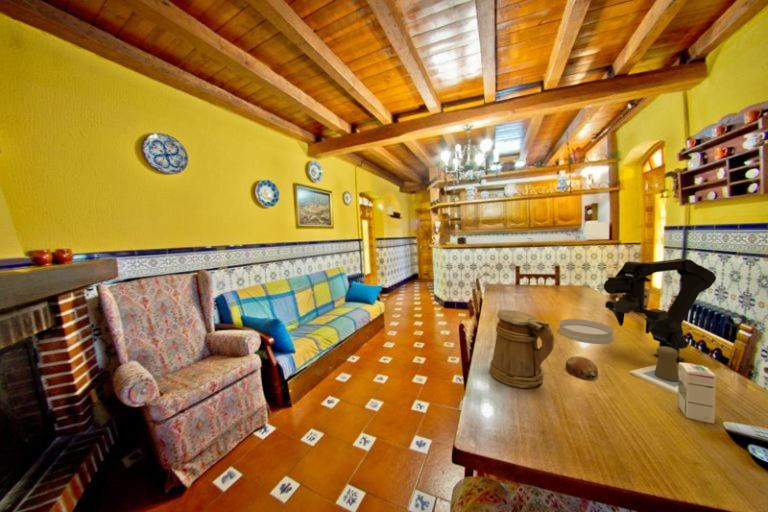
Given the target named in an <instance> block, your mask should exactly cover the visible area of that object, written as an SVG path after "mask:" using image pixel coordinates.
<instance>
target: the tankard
mask: <svg viewBox="0 0 768 512" xmlns="http://www.w3.org/2000/svg"><path fill="white" fill-rule="evenodd" d="M497 317H498V322H497V323H496V327H495V332H496V337H495V343H494V349H493V354H492V355H493V356H492V359H491V361H490V364H489V372H490V374H491V376H492V377H493V378H494V379H496V380H497V381H499V382H500V383H503V384H506V385H508V386H511V387H515V388H522V389H531V388H535V387H536V386H539V385H541V384H542V383H543V381H544V369H543V367H542V366H541V365H542V363H543V362H544V361H545V360H547V358H548V357H549V356H550V355H551V353H552V352H553V349H554V347H555V338H554V333H553V331H552V328H551V327H550V324H549V322H547V321H543V320H540V319H537V318H536V317H535V316H534V315H531V314H529V313H527V312H524V311H520V310H511V309H510V310H509V309H507V310H505V309H500V310H499V311H498V313H497ZM539 339H540V340H541V346H540V347H539V346H538V340H539Z"/></svg>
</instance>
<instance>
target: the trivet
mask: <svg viewBox="0 0 768 512" xmlns="http://www.w3.org/2000/svg"><path fill="white" fill-rule="evenodd" d="M656 365H657V364H653V365H650V366H645V367H641V368H637V369H633V370H630V371H628V372H629V375H631V376H633V377H635V378H638V379H640V380H642V381H645V382H646V383H647V382H648V383H650V384H652V385H654V386H656V387H658V388H660V389H662V390H666V391H667V392H669V393H672V394H674V395H677V396H678V382H670V381H665V380H662V379H660V378H658V377H656V376H655V375H654V373H655V369H656ZM678 376H679V372H678Z"/></svg>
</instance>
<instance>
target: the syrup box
mask: <svg viewBox="0 0 768 512" xmlns="http://www.w3.org/2000/svg"><path fill="white" fill-rule="evenodd" d="M678 373H679V380H678V395H677V407H678V409H679V410H680V411H681V413H682V414H683V415H684V417H685V418H687V419H692V420H694V421H699V422H703V423H709V424H712V425H713V424H715V415H716V389H717V387H716V386H717V385H716V384H717V382H716V380H717V376H716V373H713V372H712V370H710V368H708V367H707V366H706V365H702V364H695V363H689V362H681V361H678Z"/></svg>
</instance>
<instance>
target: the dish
mask: <svg viewBox="0 0 768 512" xmlns="http://www.w3.org/2000/svg"><path fill="white" fill-rule="evenodd" d="M558 327H559V328H558V332H559V334H560V335H561V336H563V337H564V338H567V339H569V340H573V341H576V342H580V343H585V344H594V345H604V344H609V343H613V340H614V335H613V333H614V332H613V328H611V327H610V326H608V325H607V324H604V323H602V322H597V321H593V320H589V319H581V318H568V319H562V320H560V321H559V326H558Z"/></svg>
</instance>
